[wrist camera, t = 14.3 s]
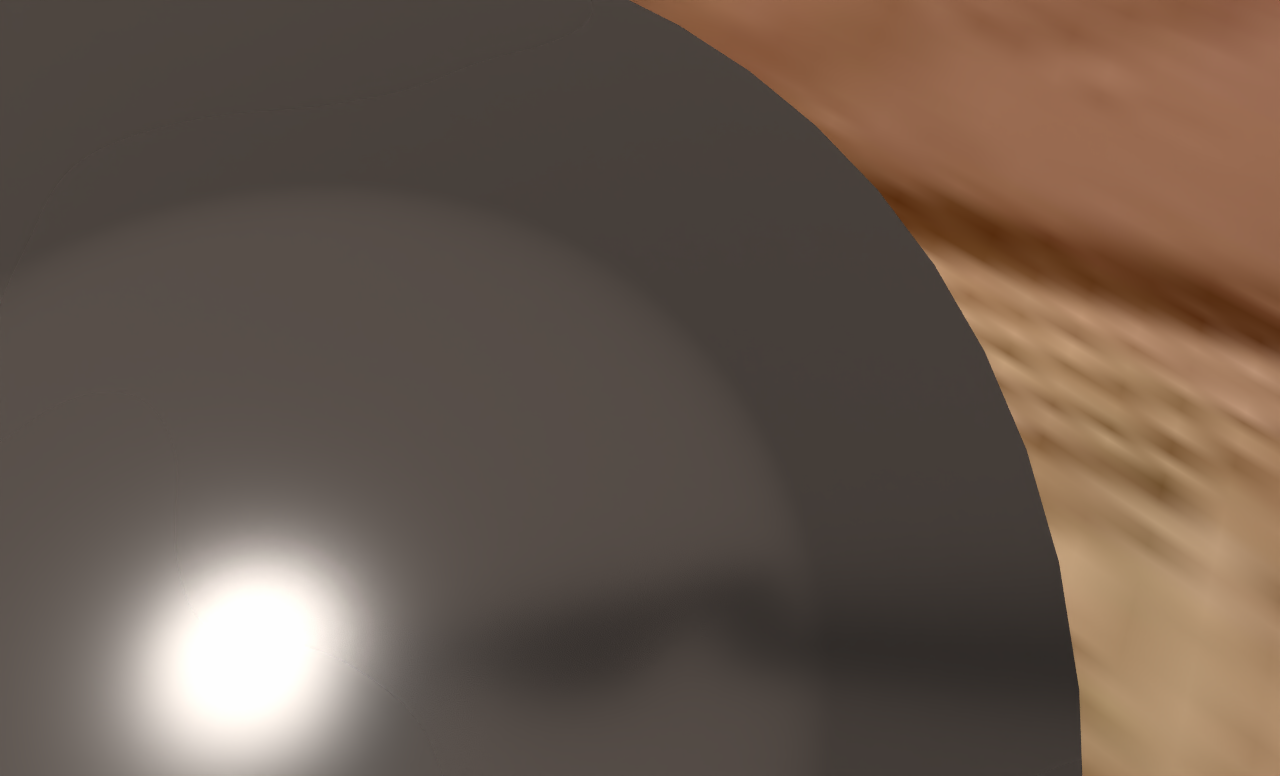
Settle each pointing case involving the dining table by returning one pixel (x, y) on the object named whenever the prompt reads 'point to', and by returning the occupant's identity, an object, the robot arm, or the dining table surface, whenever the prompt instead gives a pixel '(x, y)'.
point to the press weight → (486, 415)
